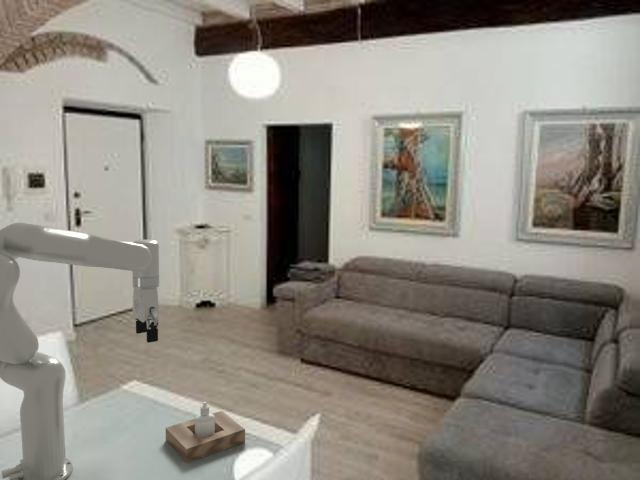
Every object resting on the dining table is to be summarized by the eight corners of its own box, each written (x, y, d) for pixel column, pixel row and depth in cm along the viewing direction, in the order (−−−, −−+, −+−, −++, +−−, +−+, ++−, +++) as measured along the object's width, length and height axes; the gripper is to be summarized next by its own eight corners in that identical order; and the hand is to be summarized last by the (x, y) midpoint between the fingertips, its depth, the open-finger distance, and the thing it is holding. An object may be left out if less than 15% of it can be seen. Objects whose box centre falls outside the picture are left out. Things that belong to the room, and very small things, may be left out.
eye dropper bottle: (211, 446, 149) (211, 406, 147) (192, 444, 150) (192, 404, 148) (217, 438, 153) (216, 400, 151) (198, 436, 154) (198, 398, 152)
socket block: (186, 462, 141) (186, 449, 140) (165, 440, 151) (165, 427, 151) (245, 442, 152) (245, 429, 151) (221, 422, 163) (221, 410, 162)
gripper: (124, 277, 160) (125, 331, 163) (142, 288, 147) (143, 347, 149) (148, 275, 165) (149, 327, 167) (169, 285, 151) (169, 343, 153)
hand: (146, 337), depth 158 cm, fingers open, 9 cm apart
